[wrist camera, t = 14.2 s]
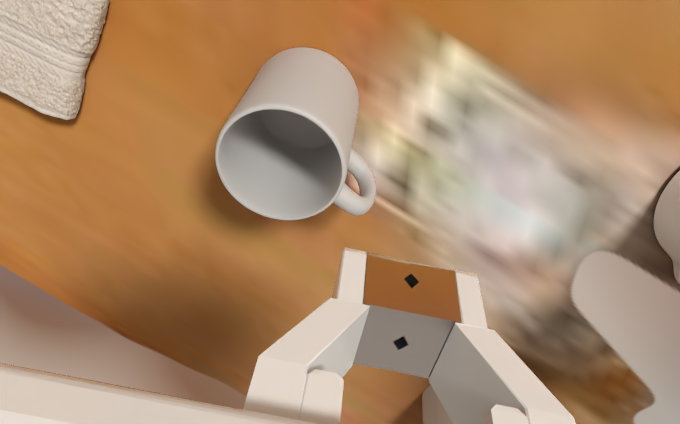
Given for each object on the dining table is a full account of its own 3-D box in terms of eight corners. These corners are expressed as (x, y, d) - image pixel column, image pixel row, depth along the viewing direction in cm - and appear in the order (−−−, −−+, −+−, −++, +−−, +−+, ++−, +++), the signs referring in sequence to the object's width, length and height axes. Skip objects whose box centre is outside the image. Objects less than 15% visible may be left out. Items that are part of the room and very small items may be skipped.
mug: (233, 100, 41) (187, 167, 32) (298, 21, 37) (265, 73, 28) (342, 188, 45) (328, 270, 36) (412, 126, 41) (415, 201, 32)
